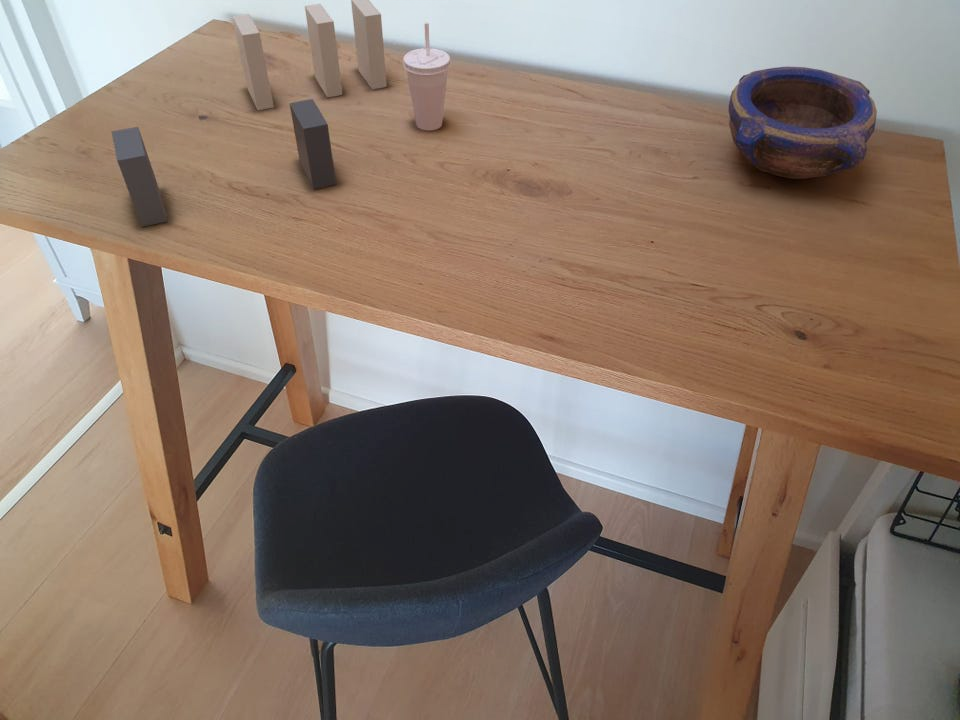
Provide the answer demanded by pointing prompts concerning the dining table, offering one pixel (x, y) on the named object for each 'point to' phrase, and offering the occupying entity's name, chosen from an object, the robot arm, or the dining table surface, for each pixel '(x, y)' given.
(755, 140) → the bowl
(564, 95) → the dining table surface
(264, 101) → the beige rectangular block
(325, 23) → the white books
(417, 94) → the smoothie
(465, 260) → the dining table surface
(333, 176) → the grey books
